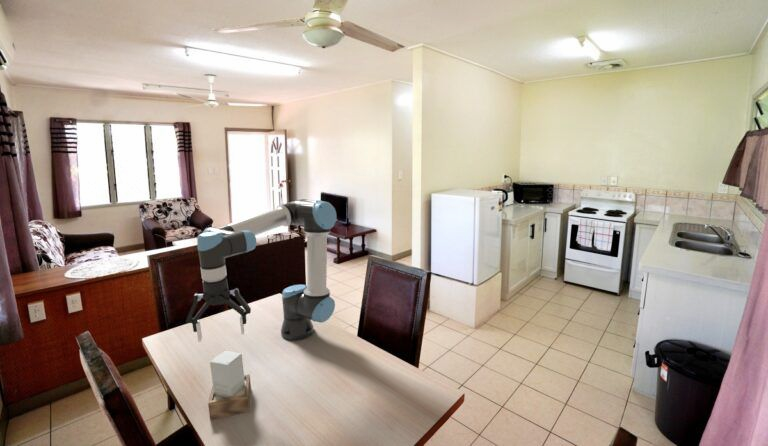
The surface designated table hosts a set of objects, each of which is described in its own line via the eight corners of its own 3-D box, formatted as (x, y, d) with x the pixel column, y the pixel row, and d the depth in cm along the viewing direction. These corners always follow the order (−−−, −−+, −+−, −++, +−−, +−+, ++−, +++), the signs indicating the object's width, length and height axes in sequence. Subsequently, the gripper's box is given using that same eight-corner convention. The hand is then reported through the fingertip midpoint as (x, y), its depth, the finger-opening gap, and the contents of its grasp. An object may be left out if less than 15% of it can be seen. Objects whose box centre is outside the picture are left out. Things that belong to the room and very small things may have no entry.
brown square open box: (251, 389, 132) (249, 374, 131) (249, 411, 121) (247, 395, 120) (215, 396, 129) (213, 380, 127) (210, 419, 117) (207, 402, 116)
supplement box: (245, 385, 126) (242, 353, 124) (231, 399, 119) (227, 365, 117) (228, 381, 128) (225, 349, 126) (213, 395, 121) (209, 361, 119)
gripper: (254, 269, 127) (259, 324, 132) (175, 279, 120) (183, 337, 124) (254, 277, 120) (259, 334, 125) (169, 287, 113) (179, 348, 117)
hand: (221, 336), depth 125 cm, fingers open, 13 cm apart
